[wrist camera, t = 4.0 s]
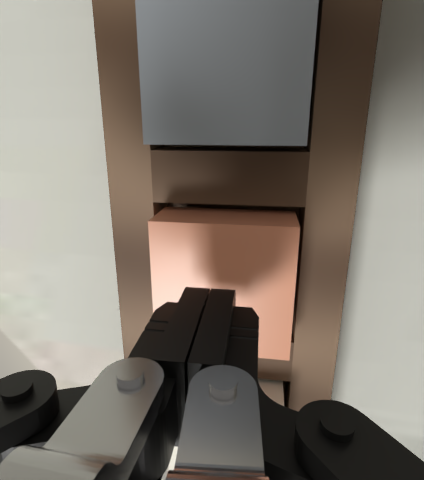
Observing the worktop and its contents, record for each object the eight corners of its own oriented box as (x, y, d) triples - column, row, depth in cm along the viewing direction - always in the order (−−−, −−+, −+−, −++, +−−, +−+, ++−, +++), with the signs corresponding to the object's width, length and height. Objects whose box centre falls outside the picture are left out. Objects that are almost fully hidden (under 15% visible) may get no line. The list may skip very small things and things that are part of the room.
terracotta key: (286, 327, 15) (289, 360, 13) (169, 318, 16) (155, 348, 14) (295, 211, 13) (300, 227, 11) (165, 206, 14) (147, 221, 12)
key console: (309, 449, 20) (317, 503, 17) (152, 429, 21) (135, 477, 18) (366, -53, 12) (396, -104, 10) (122, -38, 14) (85, -79, 11)
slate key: (300, 142, 13) (307, 146, 10) (162, 141, 13) (143, 144, 11) (313, -26, 11) (323, -61, 9) (156, -17, 12) (132, -48, 10)
